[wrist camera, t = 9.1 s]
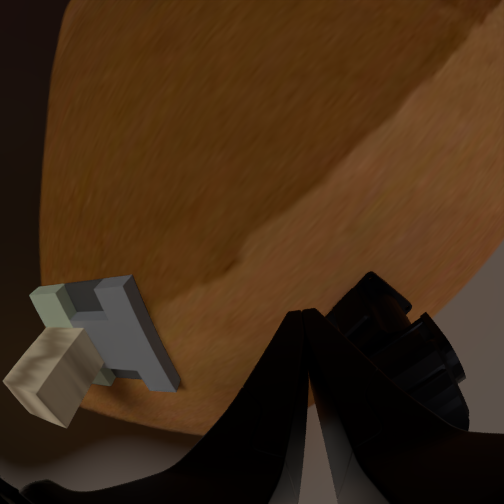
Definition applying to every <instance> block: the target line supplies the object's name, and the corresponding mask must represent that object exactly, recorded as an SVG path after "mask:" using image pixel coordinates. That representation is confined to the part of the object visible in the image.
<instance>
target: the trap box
mask: <svg viewBox="0 0 504 504" xmlns="http://www.w3.org/2000/svg"><path fill="white" fill-rule="evenodd" d="M30 298H31V300H32V302H33V304H34V305H35V308H36V310H37V312H38V313H39V315H40V317H41V319H42V321H43V323H44V324H45V326H46V328H47V327H62V328H84V329H85V331H86V332H87V334H88V336H89V338H90V339H91V341H92V343H93V344H94V346H95V348H96V349H97V351H98V353H99V354H100V356H101V357H102V359H103V361H104V364H103V365H102V367H101V369H100V370H99V372H98V374H97V375H96V377H95V379H94V381H93V382H92V384H99V385H105V386H111V385H112V384H113V382H114V380H115V378H116V377H119V378H130V379H143V381H144V382H145V384H146V385H147V387H148V388H149V390H150V391H164V392H177V389H178V386H179V383H180V380H181V379H180V377H179V375H178V374H177V372H176V370H175V368H174V366H173V364H172V362H171V360H170V358H169V356H168V354H167V352H166V350H165V348H164V346H163V344H162V342H161V340H160V338H159V336H158V334H157V332H156V330H155V327H154V325H153V323H152V321H151V319H150V316H149V314H148V312H147V310H146V307H145V305H144V303H143V300H142V298H141V296H140V293H139V291H138V288H137V286H136V283H135V281H134V278H133V276H132V275H128V276H120V277H112V278H105V279H97V280H89V281H82V282H74V283H66V284H58V285H50V286H42V287H38V288H37V289H36V290H35V291H34V292H32V293H31V294H30Z"/></svg>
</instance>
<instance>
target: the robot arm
mask: <svg viewBox="0 0 504 504" xmlns="http://www.w3.org/2000/svg"><path fill="white" fill-rule="evenodd" d="M371 276H373V278H372V279H369V278H370V277H371ZM407 306H408V307H407ZM406 307H407V308H406ZM411 309H412V305H411V303H410V302H409V301H408V300H407V299H406V298H404V297H403V296H402V295H401V294H400V293H398V292H397V291H396V290H395V289H394V288H393V287H391V286H390V285H389V284H388V283H387V282H385V281H384V280H383V279H382V278H380V277H379V276H378V275H377V274H376V273H374V272H371V271H370V272H368V273H367V274H366V275H365V276H364V277H363V278H362V279H361V280H360V281H359V282H358V283H357V284H356V286H355V287H354V288H352V289H351V290H350V291H349V292H348V293H347V294H346V295H345V296H344V297H343V298H342V299H341V300H340V301H339V302H338V303H337V304H336V305H335V306H334V307H333V309H332V310H331V311H330V312H329V313H328V314H327V315H326V316H325V317H324V316H323V315H322V314H321V313H320V312H319V311H318V310H317V309H316V308H310V309H304V310H302V311H301V310H296V311H289V312H288V313H287V314H286V316H285V318H284V319H283V321H282V323H281V324H280V326H279V328H278V330H277V331H276V333H275V335H274V336H273V338H272V340H271V341H270V343H269V345H268V346H267V348H266V350H265V351H264V353H263V355H262V356H261V358H260V360H259V361H258V363H257V365H256V366H255V368H254V369H253V371H252V373H251V374H250V376H249V377H248V379H247V380H246V382H245V384H244V385H243V388H241V390H240V391H239V393H238V394H237V396H236V397H235V399H234V400H233V402H232V403H231V404H230V406H229V407H228V409H227V410H226V411H225V412H224V414H223V415H222V416H221V417H220V418H219V420H218V421H217V422H216V423H215V424H214V425H213V427H212V428H211V429H210V430H209V431H208V432H207V433H206V434H205V435H204V436H203V437H202V438H201V439H200V440H199V442H198V443H197V444H196V445H195V446H194V447H193V448H192V449H191V450H190V451H189V452H188V453H187V454H186V455H185V456H184V457H183V458H182V459H181V460H180V461H178V462H177V463H176V464H175V465H173V466H172V467H170V468H168V469H166V470H164V471H162V472H160V473H157V474H154V475H151V476H148V477H145V478H142V479H139V480H135V481H132V482H128V483H125V484H121V485H117V486H113V487H110V488H105V489H101V490H95V491H87V492H85V491H82V492H81V491H72V490H69V489H66V488H64V487H62V486H60V485H59V484H57V483H55V482H53V481H51V480H49V479H43V480H39V481H35V482H32V483H29V484H27V485H25V486H24V487H22V488H21V489H18V488H17V487H15V486H14V485H12V484H11V483H9V482H8V481H7V480H5V479H4V478H2V477H1V476H0V504H298V501H299V494H300V486H301V477H302V468H303V458H304V448H305V435H306V422H307V407H308V388H309V379H310V384H311V388H312V392H313V396H314V400H315V404H316V408H317V413H318V417H319V421H320V425H321V429H322V433H323V437H324V442H325V447H326V451H327V455H328V459H329V464H330V469H331V473H332V478H333V483H334V487H335V492H336V497H337V499H338V500H337V501H338V504H504V434H499V433H498V434H497V433H481V432H469V431H468V429H469V409H468V407H467V405H466V402H465V399H464V397H463V395H462V393H461V391H460V389H459V386H458V383H460V382H461V381H463V380H464V379H465V378H466V376H465V373H464V370H463V367H462V365H461V363H460V361H459V359H458V357H457V355H456V353H455V351H454V350H453V348H452V346H451V344H450V343H449V341H448V340H447V338H446V337H445V335H444V334H443V333H442V331H441V330H440V329H439V327H438V326H437V325H436V324H435V322H434V321H433V320H432V319H431V317H430V316H429V315H428V314H427V312H425V313H424V314H422V315H421V316H420V318H419V319H418V320H416V321H415V322H414V323H412V324H411V322H410V321H409V319H408V317H407V316H406V314H407V313H408V312H409V311H410V310H411ZM329 321H330V322H329ZM308 372H309V375H308Z"/></svg>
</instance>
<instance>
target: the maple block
mask: <svg viewBox="0 0 504 504" xmlns="http://www.w3.org/2000/svg"><path fill="white" fill-rule="evenodd" d="M103 364H104V361H103V359H102V357H101V356H100V354H99V353H98V351H97V349H96V348H95V346H94V344H93V343H92V341H91V339H90V338H89V336H88V334H87V332H86V331H85V329H84V328H62V327H47V328H46V329H45V330H44V331H43V333H41V335H40V336H39V337H38V338H37V339H36V340H35V342H34V343H33V344H32V345H31V346H30V348H29V349H28V350H27V351H26V352H25V353H24V355H23V356H22V357H21V359H20V360H19V361H18V362H17V363H16V365H15V366H14V367H13V368H12V370H11V371H10V372H9V374H8V375H7V376H6V378H5V379H4V380H3V382H4V383H5V384H6V386H7V387H8V388H9V389H10V391H11V392H12V393H13V394H14V395H15V397H16V398H17V399H18V400H19V401H20V402H21V404H22V405H23V406H24V407H25V408H26V409H27V410H28V411H29V412H30V413H31V414H34V415H36V416H38V417H40V418H42V419H45V420H47V421H50V422H52V423H55V424H57V425H60V426H62V427H65V428H67V427H68V425H69V423H70V422H71V420H72V418H73V416H74V414H75V412H76V410H77V409H78V407H79V405H80V403H81V401H82V400H83V398H84V396H85V394H86V393H87V391H88V389H89V387H90V386H91V384H92V382H93V381H94V379H95V377H96V375H97V374H98V372H99V370H100V369H101V367H102V365H103Z"/></svg>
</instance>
